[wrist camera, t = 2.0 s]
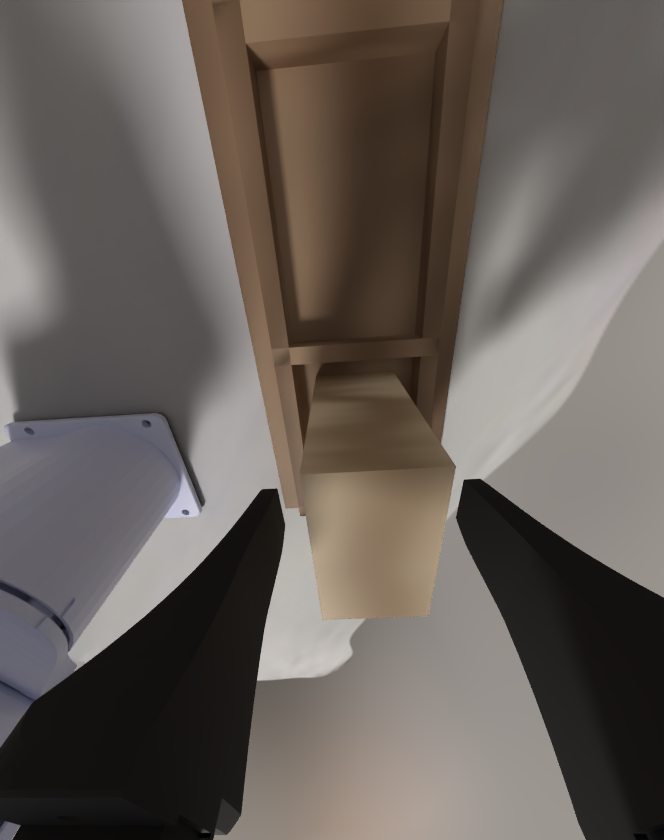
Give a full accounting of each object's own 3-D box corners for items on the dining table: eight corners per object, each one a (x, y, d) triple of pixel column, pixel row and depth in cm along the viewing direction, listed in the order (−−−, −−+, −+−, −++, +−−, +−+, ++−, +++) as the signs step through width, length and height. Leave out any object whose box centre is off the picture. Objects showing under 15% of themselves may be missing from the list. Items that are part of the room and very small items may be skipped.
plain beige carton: (326, 480, 17) (322, 619, 10) (316, 376, 14) (299, 474, 7) (391, 476, 17) (432, 616, 10) (395, 370, 14) (461, 466, 7)
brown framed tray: (286, 502, 19) (282, 522, 17) (14, -877, 4) (-162, -1517, 3) (429, 494, 19) (438, 515, 17) (632, -1022, 4) (818, -1830, 3)
